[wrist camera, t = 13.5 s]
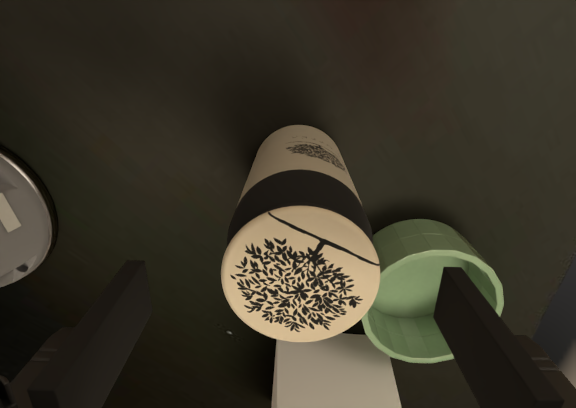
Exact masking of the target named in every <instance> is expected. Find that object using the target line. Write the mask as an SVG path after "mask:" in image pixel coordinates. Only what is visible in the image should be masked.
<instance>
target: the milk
mask: <svg viewBox="0 0 576 408" xmlns="http://www.w3.org/2000/svg"><path fill="white" fill-rule="evenodd" d="M272 408H401V403H400V399H399V395H398V391H397V387H396V382H395V378H394V374H393V370H392V365H391V361H390V357H389V355H387V354H386V353H384V352H383V351H381V350H380V349H378V348H377V347H376V346H375V345H374V344H373V343H372V341H371V340H370V339H369V338H368V336H367V335H359V334H345V333H340V334H338V335H335V336H333V337H330V338H327V339H323V340H319V341H312V342H289V341H283V340H278V339H277V340H276V353H275V366H274V379H273V392H272Z"/></svg>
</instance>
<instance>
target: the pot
mask: <svg viewBox="0 0 576 408" xmlns="http://www.w3.org/2000/svg"><path fill="white" fill-rule="evenodd" d="M373 246H374V249H375V251H376V253H377V256H378V259H379V264H380V284H379V289H378V292H377V295H376V298H375V300H374V302H373V304H372V305H371V307H370V309H369V310H368V311H367V313H366V314H365V315H364V316H363V317H362V318H361V320H362V323H363V327H364V330H365V333H366V335H367V336H368V338H369V339H370V340H371V341H372V343H373V344H374V345H375V346H376V347H377V348H378V349H380V350H381V351H383V352H384V353H386V354H387V355H389V356H391V357H393V358H396V359H400V360H403V361H407V362H411V363H435V362H440V361H444V360H449V359H453V358H454V356H453V354H452V352H451V350H450V349H449V347H448V345H447V343H446V341H445V339H444V337H443V335H442V333H441V331H440V329H439V328H438V326H437V324H436V322H435V320H434V318H433V315H434V310H435V305H436V301H437V296H438V291H439V286H440V282H441V277H442V272H443V268H444V267H462V269H463V270H464V271H465V273H466V274H467V275H468V276H469V278H470V279H471V280H472V282H473V283H474V284H475V285H476V287H477V288H478V289H479V291H480V292H481V293H482V295H483V296H484V297H485V298H486V300H487V301H488V302H489V304H490V305H491V306H492V307H493V309H494V310H495V311H496V313H497V314H498V315H499V316H500V315H501V312H502V308H503V305H504V299H503V290H502V284H501V282H500V281H499V279H498V277H497V275H496V274H495V272H494V270H493V269H492V268H491V267H490V266H489V264H488V263H487V262H486V261H485V260H484V259H483V258H482V257H481V256H480V254H479V253H478V252H477V251H476V250H475V249H474V248H473V247H472V245H471V244H470V243H469V242H468V241H467V240H466V239H465V238H464V237H463V236H462V235H461V234H459V233H458V232H457V231H456V230H455V229H453V228H452V227H450V226H448V225H446V224H444V223H441V222H438V221H433V220H428V219H411V220H404V221H401V222H397V223H394V224H392V225H389V226H387V227H385V228H383V229H381V230H380V231H378V232H377V233H376V234H374V235H373Z"/></svg>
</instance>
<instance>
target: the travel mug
mask: <svg viewBox="0 0 576 408" xmlns="http://www.w3.org/2000/svg"><path fill="white" fill-rule="evenodd" d="M221 281H222V287H223V291H224V294H225V296H226V299H227V301H228V303H229V305H230V306H231V308H232V309H233V311H234V312H235V313H236V314H237V316H238V317H239V318H240V319H241V320H242V321H243V322H245V323H246V324H247V325H248V326H250V327H251V328H253V329H254V330H256V331H258V332H260V333H262V334H264V335H266V336H269V337H272V338H275V339H278V340H283V341H289V342H312V341H319V340H323V339H327V338H330V337H333V336H335V335H338V334H340V333H342V332H344V331H345V330H347V329H349V328H350V327H352V326H353V325H354V324H356V323H357V322H358V321H359V320H360V319H361V318H362V317H363V316H364V315H365V314H366V313H367V311H368V310H369V309H370V307H371V305H372V304H373V302H374V300H375V298H376V295H377V292H378V289H379V284H380V264H379V259H378V256H377V253H376V251H375V249H374V246H373V236H372V230H371V226H370V223H369V220H368V218H367V216H366V213H365V211H364V208H363V206H362V204H361V201H360V199H359V197H358V194H357V192H356V190H355V187H354V185H353V182H352V180H351V178H350V175H349V173H348V171H347V168H346V166H345V164H344V161H343V159H342V156H341V154H340V152H339V149H338V148H337V146H336V144H335V143H334V141H333V140H332V139H331V138H330V137H329V136H328V135H327V134H325V133H324V132H322V131H321V130H319V129H316V128H314V127H311V126H306V125H291V126H287V127H284V128H281V129H279V130H277V131H275V132H274V133H272V134H271V135H270V136H268V137H267V138H266V139H265V140H264V142H263V143H262V144H261V146H260V148H259V150H258V152H257V155H256V157H255V160H254V163H253V165H252V168H251V171H250V173H249V176H248V178H247V181H246V184H245V186H244V189H243V192H242V194H241V197H240V200H239V202H238V205H237V208H236V210H235V213H234V215H233V218H232V221H231V224H230V226H229V231H228V237H227V249H226V252H225V254H224V257H223V261H222V266H221Z"/></svg>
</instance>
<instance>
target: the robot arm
mask: <svg viewBox="0 0 576 408" xmlns="http://www.w3.org/2000/svg"><path fill="white" fill-rule="evenodd" d="M57 234H58V221H57V215H56V211H55V207H54V204H53V202H52V199H51V197H50V195H49V193H48V191H47V189H46V188H45V186H44V185H43V183H42V182H41V180H40V179H39V178H38V176H37V175H36V174H35V173H34V172H33V171H32V170H31V169H30V168H29V167H28V166H27V165H26V164H25V163H24V162H23V161H22V160H21V159H19V158H18V157H17V156H15V155H14V154H13V153H11V152H10V151H8V150H7V149H5V148H3V147H2V146H0V287H2V286H5V285H8V284H11V283H13V282H15V281H17V280H19V279H21V278H23V277H25V276H26V275H28V274H30V273H31V272H32V271H34V270H35V269H36V268H37V267H38V266H40V265H41V264H42V263H43V262H44V261H45V260H46V259H47V258H48V257H49V255H50V254H51V252H52V250H53V248H54V246H55V243H56V240H57ZM151 313H152V305H151V299H150V293H149V286H148V280H147V274H146V267H145V261H129V260H127V261H126V262H125V264H124V265H123V266H122V268H121V269H120V270H119V271H118V273H117V274H116V275H115V277H114V278H113V279H112V280H111V282H110V283H109V284H108V286H107V287H106V288H105V289H104V291H103V292H102V293H101V295H100V296H99V297H98V298H97V300H96V301H95V302H94V304H93V305H92V306H91V307H90V309H89V310H88V311H87V313H86V314H85V315H84V316H83V318H82V319H81V320H80V322H79V323H78V324H77V325H76V327H63V328H61V329H60V330H59V331H57V332H56V333H54V334H53V335H52V336H50V337H49V338H48V339H47V340H46V341H45V343H44V344H43V345H42V346H41V347H40V349H39V351H37V352H36V353H35V355H34V356H33V357H32V358H31V361H29V362H28V363H27V364H26V365H25V366H24V368H23V369H22V370H21V371H20V372H19V374H18V375H17V376H16V377H15V378H14V380H13V381H12V382H11V383H9V381H8V380H7V378H6V377H3V376H0V408H102V406H103V404H104V402H105V400H106V398H107V396H108V394H109V392H110V391H111V389H112V387H113V385H114V383H115V381H116V379H117V377H118V375H119V374H120V372H121V370H122V368H123V366H124V364H125V362H126V360H127V359H128V357H129V355H130V353H131V351H132V349H133V347H134V345H135V343H136V342H137V340H138V338H139V336H140V334H141V332H142V330H143V328H144V326H145V325H146V323H147V321H148V319H149V317H150V315H151ZM433 318H434V320H435V322H436V324H437V326H438V328H439V329H440V331H441V333H442V335H443V337H444V339H445V341H446V343H447V345H448V347H449V349H450V350H451V352H452V354H453V356H454V358H455V360H456V362H457V364H458V366H459V368H460V369H461V371H462V373H463V375H464V377H465V379H466V381H467V383H468V385H469V387H470V389H471V390H472V392H473V394H474V396H475V398H476V400H477V402H478V404H479V406H480V408H576V389H575V387H574V386H573V385H572V384H571V383H570V381H569V380H568V379H567V378H566V377H565V376H564V374H563V373H562V372H561V371H559V368H558V367H557V366H556V365H555V363H554V362H553V361H551V360H550V357H548V355H547V354H546V353H545V352H544V350H543V349H542V348H541V347H540V346H539V345H538V344H537V343H535V342H534V341H532V340H531V339H530V338H528V337H527V336H526V335H513V333H512V332H511V331H510V329H509V328H508V327H507V326H506V324H505V323H504V322H503V320H502V319H501V318H500V316H499V315H498V314H497V313H496V311H495V310H494V309H493V307H492V306H491V305H490V304H489V302H488V301H487V300H486V298H485V297H484V296H483V295H482V293H481V292H480V291H479V289H478V288H477V287H476V285H475V284H474V283H473V282H472V280H471V279H470V278H469V276H468V275H467V274H466V273H465V271H464V270H463V269H462V267H444V268H443V272H442V277H441V282H440V286H439V291H438V296H437V301H436V305H435V310H434V315H433Z"/></svg>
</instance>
